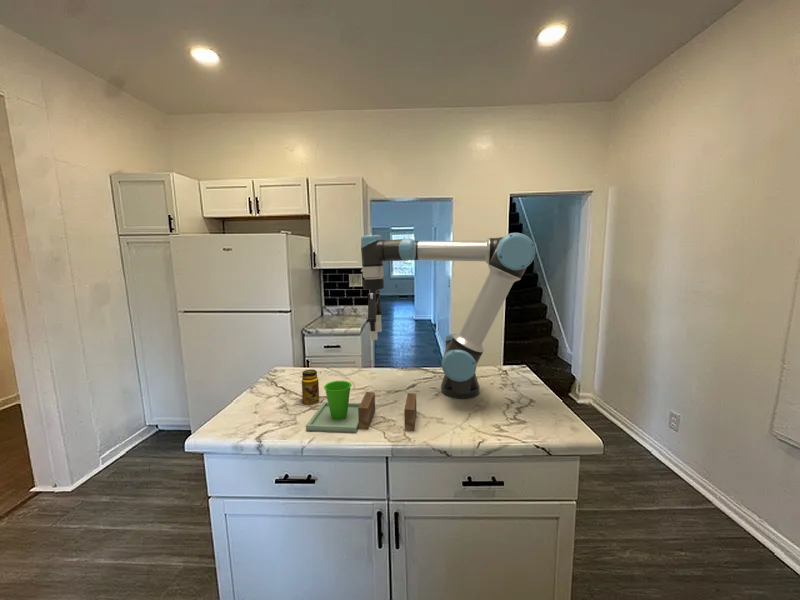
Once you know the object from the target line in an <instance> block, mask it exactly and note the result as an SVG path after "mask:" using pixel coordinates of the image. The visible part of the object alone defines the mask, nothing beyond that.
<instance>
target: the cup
mask: <svg viewBox="0 0 800 600" xmlns="http://www.w3.org/2000/svg"><path fill="white" fill-rule="evenodd" d="M351 387H352V383H351V382H350V381H349V380H334V381H329V382H327V383H325V385H324V386H323V389H324V390H325V394H326V395H325V396H326V399H327V402H328V404H329V409H330V413H331V417H332V419H334V420H342V419H344V418H346V416H347V411H348V403H350V395H351Z"/></svg>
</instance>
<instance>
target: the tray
mask: <svg viewBox="0 0 800 600" xmlns="http://www.w3.org/2000/svg"><path fill="white" fill-rule="evenodd" d="M360 403H361V402H349V403H348V411H347V416H346V418H344V419H342V420H334V419H332V417H331V413H330V409H329V404H328V401H323V402H322V404H321V405H320V406H319V407H318V409H317V410H316V412H314V414H313V415H312V417H311V418H310V419H309V421H308V422H307V424H306V425H305V432H315V433H316V432H319V433H344V434H345V433H346V434H351V433H352V434H357V433H358V430H359V420H358V407H359V405H360Z"/></svg>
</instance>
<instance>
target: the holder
mask: <svg viewBox="0 0 800 600" xmlns="http://www.w3.org/2000/svg"><path fill="white" fill-rule="evenodd" d="M375 394H376V393H375V391H366V392H365V394H364V396H363V397H362V399H361V402H359V403H360V405H359V407H358V420H359V428H358V430H369V428H370V425H371V423H372V421H373V418H374V415H375V413H376V395H375ZM404 404H405V405H404V410H403V411H404V413H403V414H404V431H405V432H415V428H416V419H417V414H418V413H417V411H418V410H417V409H418V408H417V393H415V392H414V393H413V392H411V393H409V392H408V393H407V395H406V400H405V403H404Z"/></svg>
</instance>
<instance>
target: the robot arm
mask: <svg viewBox="0 0 800 600" xmlns="http://www.w3.org/2000/svg"><path fill="white" fill-rule="evenodd" d="M360 250H361V251H360V253H361V265H362V269H361V270H360V272H361V273H362V277H363V280H362V285H363V286H362V287H363V290H365V291H368V290H369V293H367V301H368V302H367V319H366V322H367V323H368V330H369V331H368V332H369V341H379V340H378V339H379V338H378V337H379V336H378V335H379V334H378V333H382V331H383V329H382V325H383V324H382V315H384V314H383V313H384V312H383V310H382V305H381V293H380V292H381V291H380V290H383V289H384V288H385V280H384V277H385V276H384V275H385V274H384V264H383V263H384V262H400V261H404V262H406V261H407V262H408V261H437V262H438V261H440V262H441V261H443V262H444V261H447V262H450V261H451V262H485V263H486V264H487V265H488V268H489V273H488V275H487V277H486V279H485V280H484V283H483V285H482V287H481V289H480V291H479V293H478V295H477V297H476V299H475V301H474V303H473V305H472V307H471V309H470V311H469V313H468V316H467V318H466V319H465V321H464V323H463V325H462V327H461V329H460V331H459V332H458V333H449V334H447V335H446V336H445V340H444V342H445V350H444V353H443V356H442V359H441V367H442V371H443V373H444V375H443V378H442V381H441V385H440V390H441V393H442V394H443V395H445V396H447V397H450V398H454V399H470V398H471V399H472V398H475V397H477V396H478V395H480V384H479V380H478V378H477V375H476V371H477V369H478V368H477V365H478V363H479V361H480V359H481V356H482V355H483V353H484V352H485V350H484V347H483V343H484V341H485V339H486V337H487V335H488V334H489V331H490V329H492V328H491V327H492V325H493V323H494V322H495V320H496V318H497V316H498V314H499V312H500V310H501V308H502V306H503V304H504V302H505V300H506V298H507V297H508V295H509V292H510V290H511V288H512V287H513V285H514V283H515V282H518V281H520V280H521V279H522V277H523V275H524V274H525V271H526V270H527V267H529V266H530V265H531V264H532V262H533V261H534V259H535V256H536V246H535V244H534V241H533V240H532V239H531V238H530V237H529V236H528V235H526V234H524V233H522V232H521V233H520V232H510V233H508V234H505V235H504V236H502V237H501V236H500V237H488V238H487V239H486V240H415V239H413V238H401V239H387V240H386V239H383V237H382V235H381V234H367V235H363V236H362V237H361V241H360Z"/></svg>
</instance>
